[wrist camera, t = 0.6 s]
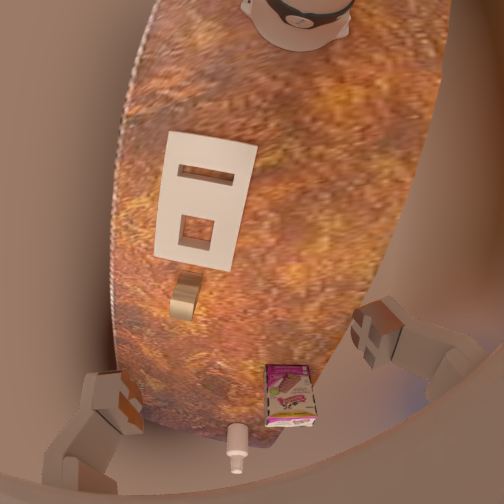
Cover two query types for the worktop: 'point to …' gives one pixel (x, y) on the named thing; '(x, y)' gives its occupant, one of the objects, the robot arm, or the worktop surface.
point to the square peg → (185, 296)
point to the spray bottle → (237, 445)
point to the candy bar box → (288, 396)
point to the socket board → (202, 198)
